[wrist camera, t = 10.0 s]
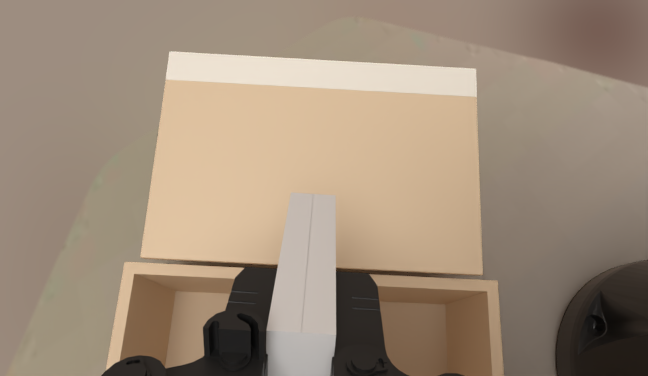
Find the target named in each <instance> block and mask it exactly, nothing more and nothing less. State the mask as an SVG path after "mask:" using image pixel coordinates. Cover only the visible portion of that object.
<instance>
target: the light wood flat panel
mask: <svg viewBox="0 0 648 376" xmlns="http://www.w3.org/2000/svg"><path fill="white" fill-rule="evenodd" d="M291 192H292V193H307V194H322V195H336V268H339V269H359V270H379V271H398V272H418V273H438V274H457V275H477V276H479V275H483V264H482V236H481V207H480V179H479V151H478V123H477V86H476V69H471V68H454V67H436V66H418V65H400V64H383V63H365V62H347V61H329V60H312V59H294V58H276V57H258V56H240V55H223V54H205V53H187V52H170V53H169V60H168V67H167V74H166V83H165V90H164V97H163V104H162V111H161V119H160V124H159V131H158V138H157V145H156V152H155V159H154V166H153V173H152V180H151V187H150V194H149V201H148V208H147V215H146V222H145V229H144V236H143V242H142V249H141V256H140V257H141V258H144V259H162V260H182V261H201V262H221V263H241V264H261V265H278V263H279V257H280V251H281V246H282V240H283V234H284V229H285V223H286V218H287V212H288V206H289V201H290V195H291Z"/></svg>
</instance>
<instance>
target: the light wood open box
mask: <svg viewBox="0 0 648 376" xmlns="http://www.w3.org/2000/svg"><path fill="white" fill-rule="evenodd" d="M243 269H244V268H237V267H217V266H197V265H178V264H158V263H138V262H125V263H124V269H123V275H122V281H121V286H120V292H119V298H118V303H117V309H116V315H115V321H114V326H113V332H112V338H111V343H110V349H109V355H108V361H107V366H106V370H107V369H109V368H110V367H111V366H112V365H113V364H115V363H116V362H119V361H121V360H123V359H125V358H127V357H133V356H138V355H142V356H151V357H153V358H156V359H158V360H160V361H161V363H162V364H163V365H164V367H165V368H170V367H175V366H180V365H184V364H188V363H191V362H194V361H196V360H198V359H200V358H202V357H203V356H204V341H203V327H204V325H205V323H206V322H207V320H208V319H210V318H211V317H212V316H214V315H215V314H217V313H220V312H223V311H225V309H226V306H227V303H228V299H229V296H230V293H231V289H232V286H233V283H234V279H235V277H236V276H237V275H238V274H239V273H240V272H241V271H242V270H243ZM369 275H370V276H371V277H372V279H373V280H374V281H375V283H376V284H377V287H378V294H379V302H380V311H381V318H382V326H383V334H384V342H385V349H386V353H387V356H388V358H389V359H390V361H391V363H392V364H393V365H394V366H395V367H396V368H397V369H399V370H400V371H402V372H403V373H405V374H407V375H409V376H438V375H441V374H444V373H458V374H461V375H464V376H504V369H503V354H502V339H501V323H500V308H499V292H498V281H493V280H474V279H454V278H434V277H414V276H395V275H375V274H369Z"/></svg>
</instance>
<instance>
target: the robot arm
mask: <svg viewBox="0 0 648 376" xmlns="http://www.w3.org/2000/svg"><path fill="white" fill-rule="evenodd" d="M203 341H204V356H203V357H202V358H200V359H198V360H196V361H194V362H191V363H188V364H184V365H180V366H175V367H170V368H165V367H164V365H163V364H162V363H161V361H160V360H158V359H156V358H153V357H151V356H142V355H138V356H133V357H127V358H125V359H123V360H121V361H119V362H116V363H115V364H113V365H112V366H111V367H110V368H109V369H107V370H106V371H105V372H104V373H103V375H102V376H409V375H407V374H405V373H403V372H402V371H400V370H399V369H397V368H396V367H395V366H394V365H393V364H392V363H391V361H390V359H389V358H388V356H387V353H386V349H385V342H384V334H383V326H382V318H381V311H380V302H379V294H378V287H377V284H376V283H375V281H374V280H373V279H372V277H371V276H370V275H369V274H368V273H352V272H336V195H322V194H307V193H292V192H291V195H290V201H289V206H288V212H287V218H286V223H285V229H284V234H283V240H282V246H281V251H280V257H279V263H278V268H277V269H270V268H255V267H245V268H244V269H243V270H242V271H241V272H240V273H239V274H238V275H237V276H236V277H235V279H234V283H233V286H232V289H231V293H230V296H229V299H228V303H227V306H226V309H225V311H223V312H220V313H217V314H215V315H214V316H212V317H211V318H210V319H208V320H207V322H206V323H205V325H204V327H203ZM556 357H557V371H558V376H648V260H644V261H639V262H635V263H631V264H627V265H623V266H619V267H616V268H613V269H610V270H608V271H606V272H604V273H601V274H600V275H598V276H596V277H595V278H593V279H592V280H591V281H589V282H588V283H587V284H586V285H585V286H584V287H583V288H582V289H581V290H580V291H579V292H578V293H577V295H576V296H575V297H574V298H573V300H572V301H571V303H570V305H569V307H568V308H567V310H566V313H565V315H564V317H563V320H562V323H561V326H560V330H559V335H558V341H557V356H556ZM438 376H464V375H461V374H458V373H444V374H441V375H438Z"/></svg>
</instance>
